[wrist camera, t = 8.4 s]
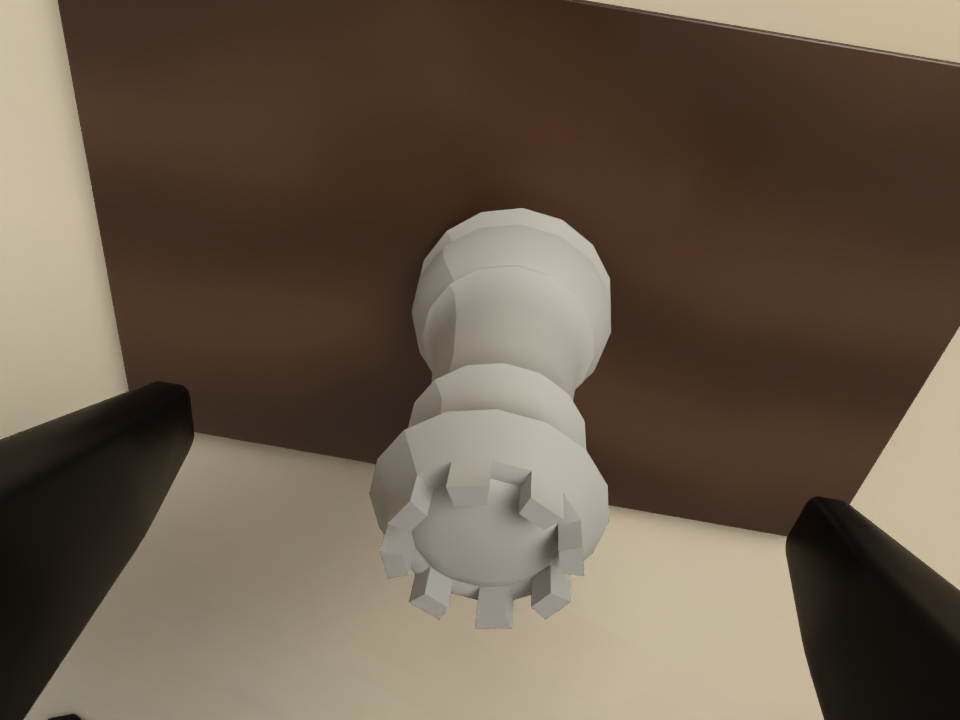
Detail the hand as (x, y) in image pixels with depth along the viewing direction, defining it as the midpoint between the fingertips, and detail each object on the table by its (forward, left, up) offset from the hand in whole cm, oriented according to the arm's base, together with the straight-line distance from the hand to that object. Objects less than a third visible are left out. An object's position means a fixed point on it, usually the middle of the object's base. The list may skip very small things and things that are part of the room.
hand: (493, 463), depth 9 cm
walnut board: (0, 0, -7) cm, 7 cm away
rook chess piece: (0, 0, -7) cm, 7 cm away
